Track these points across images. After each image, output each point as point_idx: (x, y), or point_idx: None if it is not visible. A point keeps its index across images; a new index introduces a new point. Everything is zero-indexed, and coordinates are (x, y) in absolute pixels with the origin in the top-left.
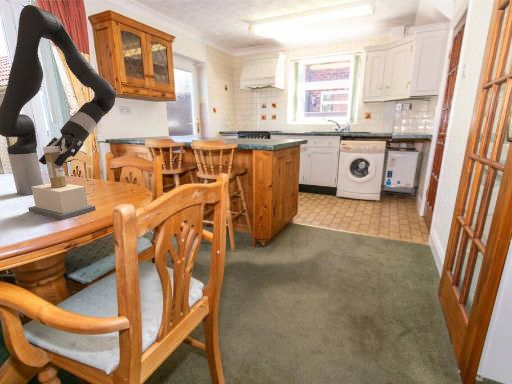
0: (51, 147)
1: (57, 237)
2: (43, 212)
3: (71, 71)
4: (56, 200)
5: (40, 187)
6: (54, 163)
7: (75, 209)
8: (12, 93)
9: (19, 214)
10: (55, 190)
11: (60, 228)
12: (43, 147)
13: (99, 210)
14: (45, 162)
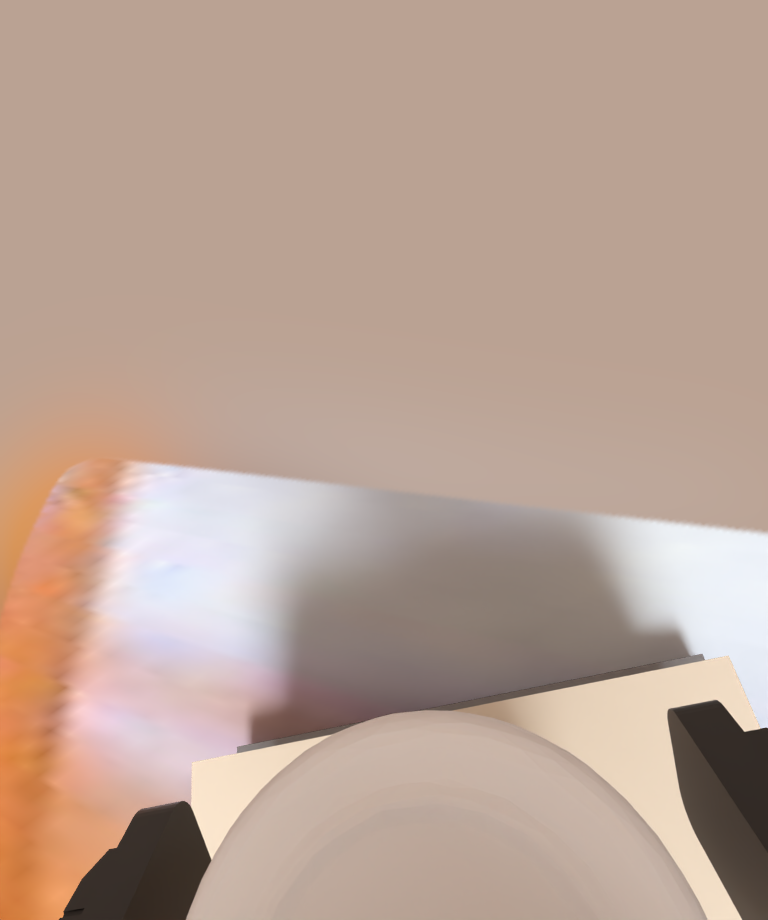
0: (193, 904)
1: (14, 626)
2: (474, 702)
3: None
4: None
5: (591, 709)
6: (180, 807)
7: None
8: None
9: (655, 597)
10: (287, 761)
11: (114, 683)
12: (420, 716)
13: None
14: (695, 820)
